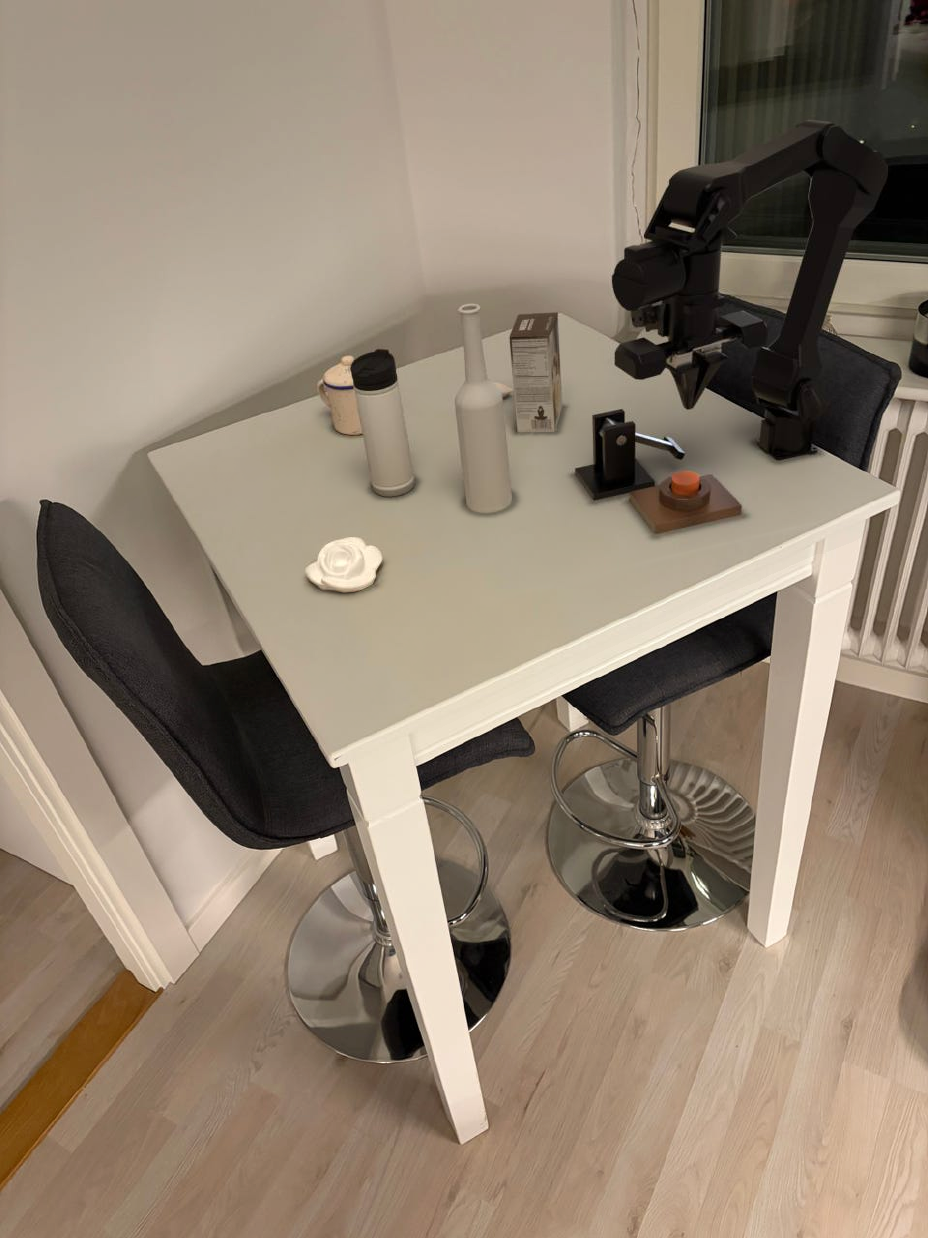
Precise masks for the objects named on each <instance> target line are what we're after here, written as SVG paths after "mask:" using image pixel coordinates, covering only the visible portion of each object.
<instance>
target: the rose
mask: <svg viewBox="0 0 928 1238" xmlns="http://www.w3.org/2000/svg"><path fill="white" fill-rule="evenodd" d="M382 562H383V555H382V553H381V551H380V549H379V548H377V547H376V546H374V545H370V544H369V545H367V544H366V542H365V541H364V540H363V539H362V538H360V537H357V536H352V537H351V536H349V537H344V538H342V539H336V540H333V541H330V542H328V543H326V544H325V545H323V547H322V548H321V549H320V551H319V552H318V555H317V558H316V561H314V562H312V563H310V564H309V565H307V566H306V567H305V569H304V570H305V575H306V577H307V579H308V580H309V581H310V582H311V583H313V584H314V585H316V586H317V587H318V588H319V589H320V590H324V591H327V590H328V591H336V592H340V593H353V592H359V591H363V590H364V589H366V588H368V587H370V586H373V584H374V583H375V579H376V578H377V570H378V569H379V567H380V565H381V564H382Z"/></svg>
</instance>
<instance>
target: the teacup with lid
mask: <svg viewBox="0 0 928 1238" xmlns="http://www.w3.org/2000/svg"><path fill="white" fill-rule="evenodd" d="M354 360H355V358H354V357H353V356H352V355H344V356H343V357H342V358H341V362H339V363H338V364H337V365H336V364H335V365H334V366H331V367H330V368H329V369H328V370H326V371H325V373H324V374H323V377H322V378H321V379H320V380H319V381H318V382H317V383H316V384H317V385H316V390H317V394H318V396H319V398H320V400H321V401H322V403H324V404H325V405H326V406H327V407H329V408H330V413H331V416H332V422H333V426H334V429H335V430H336V431H337V432H338V433H341V434H342V435H348V436H354V435H355V436H357V435H358V436H359V435H363V433H362V428H361V423H360V418H359V413H358V408H357V403H356V397H355V392H354V387H353V379H352V375H351V370H350V366H351V364H352V362H353V361H354ZM324 386H325V388H326V391H325V388H324Z"/></svg>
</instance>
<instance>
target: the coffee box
mask: <svg viewBox="0 0 928 1238" xmlns="http://www.w3.org/2000/svg"><path fill="white" fill-rule="evenodd" d="M508 339H509V349H510V360H511V361H510V362H511V374H512V375H511V376H512V385H513V386H512V387H513V398H514V410H515V422H516V423H515V424H516V432H517V433H549V432H550V433H551V432H556V430H557V427H558V424H559V420H560V417H561V414H562V413H561V412H562V409H563V395H562V374H561V358H560V357H561V355H560V333H559V312H557V311H555V312H537V313H535V312H534V313H519V314H517V317H516V320H515V322H514V325H513V327H512V329H511V332H510V334H509V337H508Z"/></svg>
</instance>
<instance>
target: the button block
mask: <svg viewBox="0 0 928 1238" xmlns="http://www.w3.org/2000/svg"><path fill="white" fill-rule="evenodd" d="M672 476H673V475H671V476H669V477H666V478H664V480H662V481H661V482H660V485H655V486H654V487H650V488H645V489H641V490H636V491H632V492H630V493H629V503H631V504H632V506H633V508H634V509H635V510H636V511H637V513H638V514H639V515H640V517H641V518H642V519H643V520H644V522H645V523H646V524H647V526H648V527H649V528H650V529H651V531H652V532H653V533H654V534H655V535H659V534H664V533H668V532H672V531H676V530H682V529H685V528H689V527H694V526H698V525H703V524H707V523H711V522H716V521H719V520H724V519H729V518H733V517H738V516H741V515H742V507H743V505H742V504H741V503H740V502H739V501H738V500H737V499H736V497H735V496H734V495H733V494H732V493H731V492H730V491H729V490H728V489H727V488H726V487H725V485H724V484H722V483H721V481H719V480H718V478H716V476H715V475H714V474H713V473H709V474H704V475H699V477H700V481H699V491H698V492H697V493H695V494H690V495H679V494H676V493H674V492H672V490H671V481H672Z"/></svg>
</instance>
